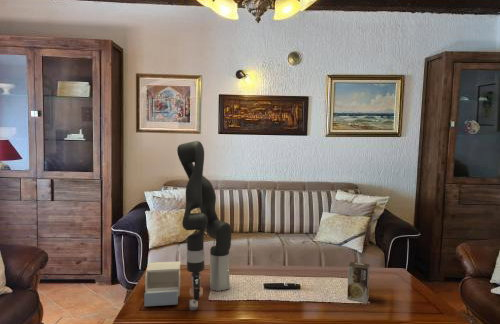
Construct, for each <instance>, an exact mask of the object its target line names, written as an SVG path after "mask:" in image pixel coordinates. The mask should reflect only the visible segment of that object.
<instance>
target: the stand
mask: <svg viewBox="0 0 500 324" xmlns="http://www.w3.org/2000/svg"><path fill="white" fill-rule="evenodd" d="M198 309H199V300H194V298H193V299H189V310H190V311H192V312H193V311H197V310H198Z"/></svg>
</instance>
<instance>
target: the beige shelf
mask: <svg viewBox="0 0 500 324" xmlns="http://www.w3.org/2000/svg"><path fill="white" fill-rule="evenodd" d="M144 279H145V280H144V281H145V282H144V283H145V292H144V293H147V289H153V288H172V287H178V297H180V293H181V261H161V262H160V261H159V262H157V261H156V262H148V263H147V267H146V270H145V277H144Z"/></svg>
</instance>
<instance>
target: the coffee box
mask: <svg viewBox="0 0 500 324" xmlns="http://www.w3.org/2000/svg"><path fill="white" fill-rule="evenodd" d="M370 265H371V264H368V263H363V262H355V261H350V262H349V264H348V266H347V298H346V299H347V300H349V301H357V302H361V303H362V302H363V303H368V301H369V298H370V297H369V295H370V292H369V291H370Z"/></svg>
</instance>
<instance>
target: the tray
mask: <svg viewBox="0 0 500 324" xmlns="http://www.w3.org/2000/svg"><path fill="white" fill-rule="evenodd" d="M143 295H144V296H143V297H144V303H143V304H144V307H156V306H157V307H158V306H172V305H173V306H174V305H175V306H176V305H179V304H178V303H179V301H178V300H179V296H178V287H172V288H153V289H147V293H145V292H144V293H143Z"/></svg>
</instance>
